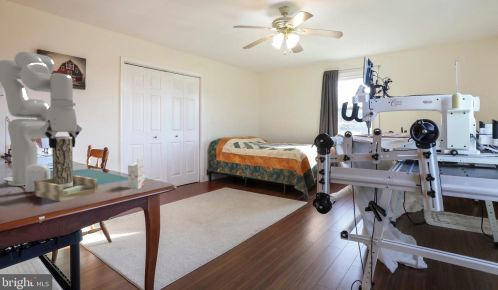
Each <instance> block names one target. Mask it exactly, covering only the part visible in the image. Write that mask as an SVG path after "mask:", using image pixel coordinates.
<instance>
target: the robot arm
mask: <svg viewBox="0 0 498 290" xmlns="http://www.w3.org/2000/svg"><path fill="white" fill-rule="evenodd" d="M54 70H55V62H54V59H52V58H51V57H50V56H47V55H44V54H39V53H35V52H29V51H21V52H20V51H19V52H17V53H16V54H15V55H14V60H12V59H1V60H0V85H1V86H2V89H3V91H4V95H5V100H6V104H7V109H8V112H9V114H10V115H11V116H12V117H15V119H12V120H11V121H9V122H8V124H7V130H8V134H9V138H10V139H9V140H10V149H11V150H10V151H11V178H12V179H11V180H10V181H8V182H7V185H8V186H11V187H21V186H24V185H25V168H26V167H27V166H29V165H34V164H38V147H37V145H36V144H35V143H34V142H33V141H32V139H48V146H49V148H50V149H52V148H56V138H54V137H56V135H57V134H58V133H67V134H68V137H72V148H75V147H76V138H77V136H78V135H80V132H82V130H83V128H82V127H80V125H79V124H77V123H78V122H77V115H76V110H75V108H73V107H76V102H74V101H73V99H74V98H73V97H74V95H73V92H74V90H73V87H74V86H73V78H72V76H71V75H69V74H65V73H60V72H59V73H57V72H56V73H53V72H54ZM19 80H21V82H20V81H19ZM22 83H23V84H22ZM27 88H28V89H29V90H31V91H35V92H43V93H49V95H50V96H49V97H50V98H49V99H50V106H49V104H48V103H47V101H44V100H42V99H34V98H30V96H29V91H28V89H27ZM24 187H25V186H24Z"/></svg>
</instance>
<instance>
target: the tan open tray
mask: <svg viewBox="0 0 498 290" xmlns="http://www.w3.org/2000/svg"><path fill="white" fill-rule="evenodd" d="M78 185H86V189H88V190H83V191H79V192H74V193H70V194H65V195H63V186H62V185H57V184H53V177H51V178H50V179H44V180H38V181H34V191H33V192H34V196H35V197H38V198H39V197H40V198H42V199H43V198H44V199H48V200H51V201H56V202H64V201H68V200H69V201H70V200H73V199H77V198H81V197H85V196H90V195H93V194H97V193H99V192H98V191H99V190H98V188H99V187H98V179H97V178H93V177H88V176H82V175H81V176H80V175H77V174H76V175H74V174H73V187H75V186H78Z"/></svg>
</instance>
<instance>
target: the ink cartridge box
mask: <svg viewBox="0 0 498 290" xmlns="http://www.w3.org/2000/svg"><path fill="white" fill-rule="evenodd" d="M145 167H146V164H145V157H140V158H138V159H136V162H134V163H131V164H128V165H127V179H128V180H127V181H128V182H127V183H128V184H127V187H128V189H133V190H139V189H141V188H143V187H144V186H145V177H146V176H145V173H146V172H145Z"/></svg>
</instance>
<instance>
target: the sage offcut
mask: <svg viewBox="0 0 498 290" xmlns="http://www.w3.org/2000/svg"><path fill="white" fill-rule="evenodd" d="M85 189H86V185H78V186H75V187H71V188H68V189H65V190H63V195H65V194H70V193H74V192H79V191H82V190H85Z"/></svg>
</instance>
